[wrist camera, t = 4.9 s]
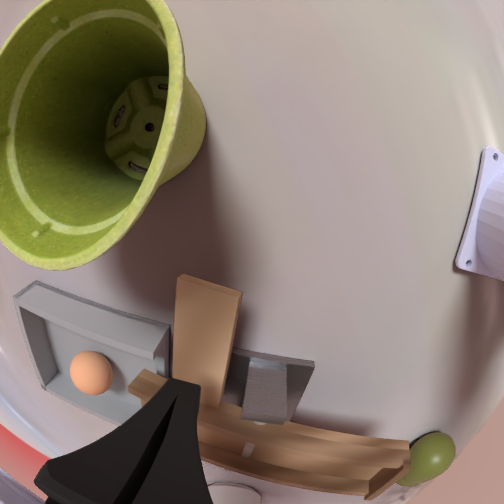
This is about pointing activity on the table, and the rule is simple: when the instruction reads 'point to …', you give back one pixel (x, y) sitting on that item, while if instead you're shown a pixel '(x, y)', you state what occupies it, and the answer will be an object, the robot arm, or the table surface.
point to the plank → (257, 433)
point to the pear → (429, 458)
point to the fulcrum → (265, 385)
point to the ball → (91, 373)
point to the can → (233, 494)
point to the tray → (89, 347)
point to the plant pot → (90, 125)
